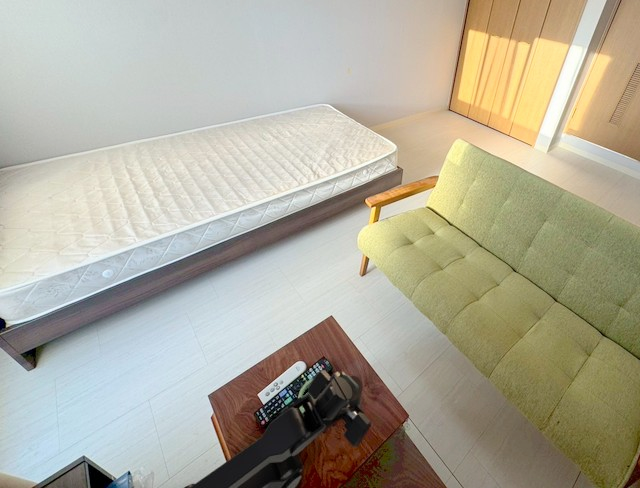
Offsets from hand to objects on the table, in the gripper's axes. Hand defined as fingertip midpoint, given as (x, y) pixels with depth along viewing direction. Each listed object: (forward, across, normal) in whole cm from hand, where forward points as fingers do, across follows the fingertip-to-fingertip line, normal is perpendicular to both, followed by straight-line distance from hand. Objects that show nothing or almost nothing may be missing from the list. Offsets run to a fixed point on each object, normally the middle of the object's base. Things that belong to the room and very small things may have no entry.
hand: (353, 395), depth 85 cm
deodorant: (+4, 0, +6) cm, 7 cm away
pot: (+3, +9, +11) cm, 15 cm away
